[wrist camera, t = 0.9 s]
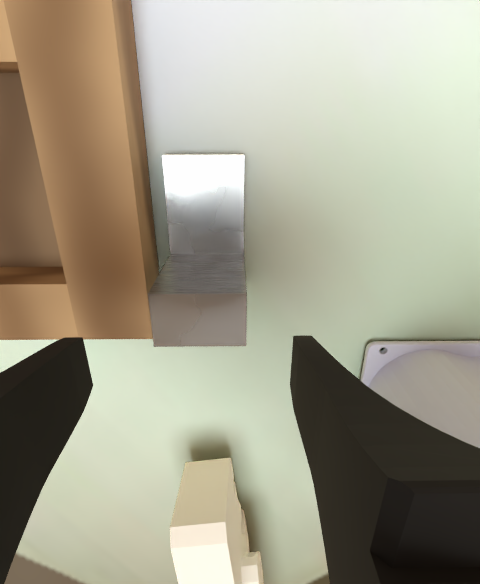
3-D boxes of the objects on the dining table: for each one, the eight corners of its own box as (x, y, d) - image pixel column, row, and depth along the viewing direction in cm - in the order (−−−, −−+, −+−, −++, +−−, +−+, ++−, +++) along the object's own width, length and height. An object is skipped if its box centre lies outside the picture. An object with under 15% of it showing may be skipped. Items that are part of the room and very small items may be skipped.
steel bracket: (243, 153, 18) (247, 162, 12) (243, 286, 21) (246, 345, 15) (166, 153, 18) (131, 162, 12) (177, 287, 21) (154, 346, 15)
